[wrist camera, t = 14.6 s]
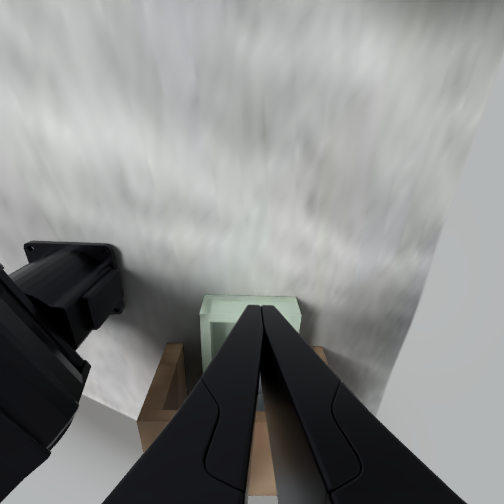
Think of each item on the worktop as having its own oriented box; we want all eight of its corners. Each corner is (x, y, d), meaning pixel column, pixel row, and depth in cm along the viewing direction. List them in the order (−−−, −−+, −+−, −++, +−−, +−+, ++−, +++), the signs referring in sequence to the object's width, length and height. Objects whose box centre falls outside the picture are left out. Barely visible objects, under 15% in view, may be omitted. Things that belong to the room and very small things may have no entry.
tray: (208, 389, 27) (205, 413, 24) (204, 294, 22) (199, 313, 20) (283, 390, 27) (286, 414, 25) (295, 296, 22) (301, 315, 20)
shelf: (175, 411, 28) (153, 495, 22) (167, 343, 24) (136, 421, 17) (307, 412, 29) (326, 495, 22) (321, 346, 25) (349, 423, 18)
